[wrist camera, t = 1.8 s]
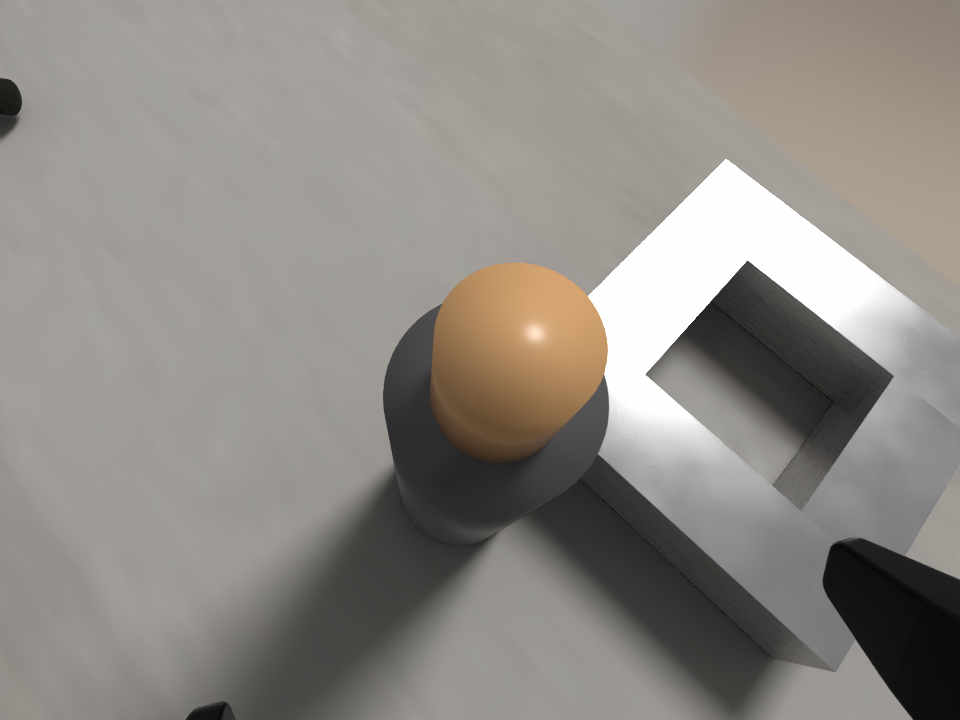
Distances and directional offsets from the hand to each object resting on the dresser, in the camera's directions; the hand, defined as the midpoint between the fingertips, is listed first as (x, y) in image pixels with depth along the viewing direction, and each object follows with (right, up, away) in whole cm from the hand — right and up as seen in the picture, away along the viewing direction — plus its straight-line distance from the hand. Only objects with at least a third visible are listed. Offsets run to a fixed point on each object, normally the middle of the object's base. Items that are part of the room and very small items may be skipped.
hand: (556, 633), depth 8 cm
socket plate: (+8, +2, +13) cm, 16 cm away
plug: (-2, 0, +11) cm, 11 cm away
